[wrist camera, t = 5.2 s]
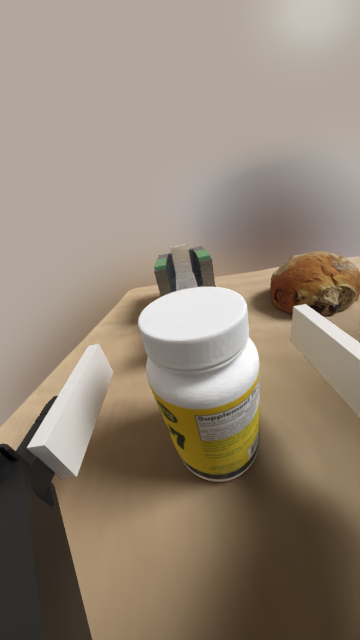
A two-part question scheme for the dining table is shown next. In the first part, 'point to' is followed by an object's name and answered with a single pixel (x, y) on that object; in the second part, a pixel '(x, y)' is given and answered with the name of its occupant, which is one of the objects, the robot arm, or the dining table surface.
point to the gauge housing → (200, 268)
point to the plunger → (183, 267)
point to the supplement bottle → (205, 378)
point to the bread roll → (316, 283)
